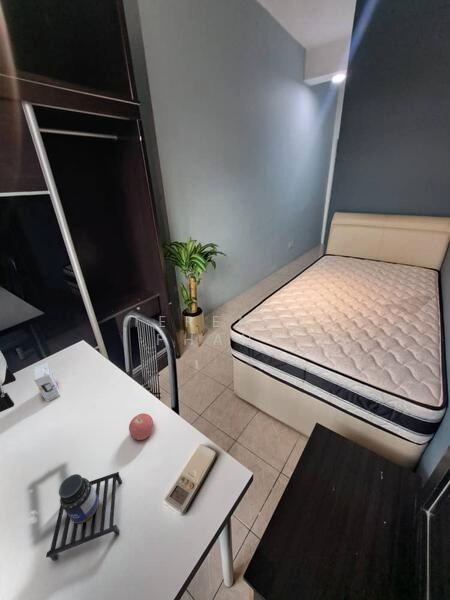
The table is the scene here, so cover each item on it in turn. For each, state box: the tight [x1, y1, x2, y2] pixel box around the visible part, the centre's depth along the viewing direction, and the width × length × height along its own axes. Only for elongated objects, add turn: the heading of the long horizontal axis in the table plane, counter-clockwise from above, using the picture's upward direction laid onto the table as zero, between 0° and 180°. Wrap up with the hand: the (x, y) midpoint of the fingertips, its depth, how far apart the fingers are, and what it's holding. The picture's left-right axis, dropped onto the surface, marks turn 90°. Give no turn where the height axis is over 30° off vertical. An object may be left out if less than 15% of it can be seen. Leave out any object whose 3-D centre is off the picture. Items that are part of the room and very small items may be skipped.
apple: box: [128, 413, 154, 441], centre depth 79 cm, size 7×7×8 cm
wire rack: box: [45, 471, 123, 562], centre depth 61 cm, size 14×13×5 cm
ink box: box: [32, 362, 61, 403], centre depth 96 cm, size 9×5×12 cm, turn 37°
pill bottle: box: [58, 473, 100, 525], centre depth 57 cm, size 6×6×11 cm
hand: (7, 395), depth 60 cm, fingers open, 9 cm apart
